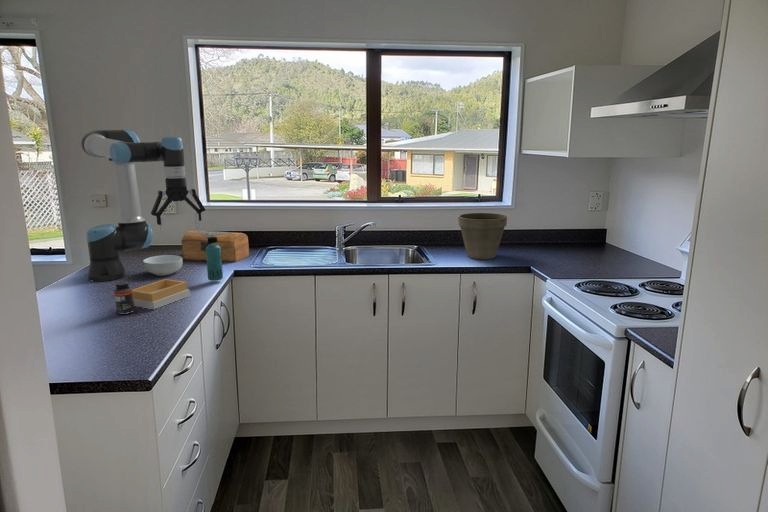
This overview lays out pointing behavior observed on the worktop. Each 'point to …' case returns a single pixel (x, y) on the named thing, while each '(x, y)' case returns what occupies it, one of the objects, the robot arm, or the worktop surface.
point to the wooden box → (230, 243)
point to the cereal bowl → (163, 264)
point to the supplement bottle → (124, 298)
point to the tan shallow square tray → (160, 293)
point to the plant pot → (482, 233)
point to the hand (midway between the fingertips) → (180, 230)
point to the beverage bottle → (214, 260)
